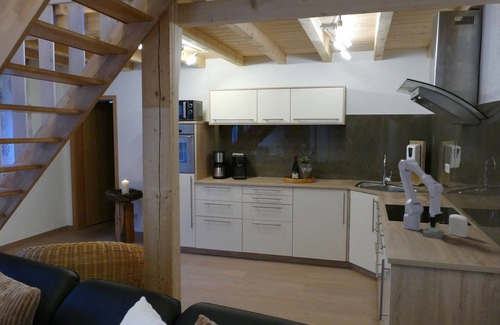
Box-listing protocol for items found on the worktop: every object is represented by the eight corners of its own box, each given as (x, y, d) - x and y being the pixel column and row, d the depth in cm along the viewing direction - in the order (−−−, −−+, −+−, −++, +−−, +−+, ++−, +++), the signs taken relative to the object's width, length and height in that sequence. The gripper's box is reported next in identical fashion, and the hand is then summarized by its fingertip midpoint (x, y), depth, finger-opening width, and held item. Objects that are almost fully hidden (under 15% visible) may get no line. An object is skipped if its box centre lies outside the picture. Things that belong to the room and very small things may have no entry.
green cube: (428, 231, 227) (428, 223, 226) (429, 229, 231) (430, 221, 230) (437, 232, 224) (437, 224, 223) (438, 230, 228) (439, 222, 227)
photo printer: (447, 233, 231) (448, 213, 229) (451, 232, 233) (452, 212, 231) (463, 238, 222) (465, 217, 220) (468, 237, 224) (469, 216, 222)
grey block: (422, 236, 226) (422, 231, 226) (426, 232, 234) (426, 227, 234) (441, 239, 221) (441, 234, 220) (444, 235, 229) (444, 230, 228)
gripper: (440, 207, 217) (439, 230, 219) (444, 202, 229) (443, 224, 230) (427, 205, 221) (425, 228, 223) (431, 201, 233) (430, 222, 234)
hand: (433, 226), depth 227 cm, fingers open, 6 cm apart
